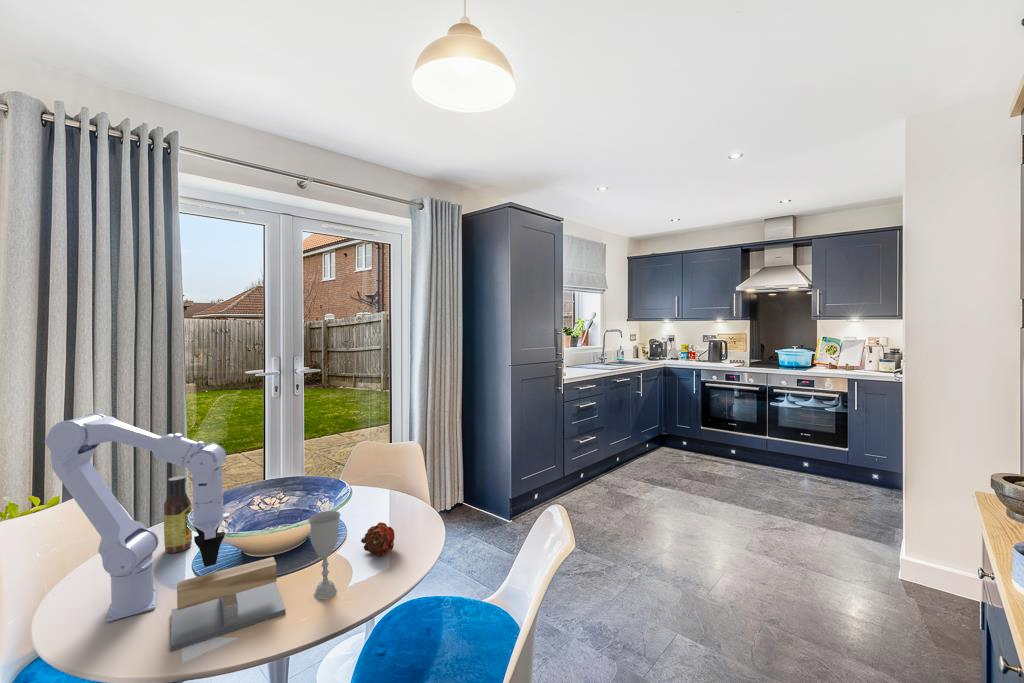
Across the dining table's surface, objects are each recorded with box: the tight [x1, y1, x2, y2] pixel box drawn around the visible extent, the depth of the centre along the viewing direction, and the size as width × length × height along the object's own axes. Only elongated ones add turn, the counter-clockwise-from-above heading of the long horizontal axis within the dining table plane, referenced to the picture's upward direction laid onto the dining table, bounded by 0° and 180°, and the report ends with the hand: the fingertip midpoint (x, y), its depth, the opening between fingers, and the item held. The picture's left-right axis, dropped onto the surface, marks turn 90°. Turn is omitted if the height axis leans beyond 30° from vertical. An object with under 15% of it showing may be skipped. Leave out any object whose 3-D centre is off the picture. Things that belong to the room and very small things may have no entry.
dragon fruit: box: [360, 522, 395, 557], centre depth 127 cm, size 8×8×12 cm
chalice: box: [307, 510, 341, 600], centre depth 107 cm, size 7×7×18 cm
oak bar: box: [176, 556, 278, 611], centre depth 99 cm, size 4×18×4 cm, turn 126°
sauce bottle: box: [163, 475, 193, 554], centre depth 128 cm, size 7×6×20 cm
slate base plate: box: [170, 582, 286, 652], centre depth 99 cm, size 14×20×1 cm
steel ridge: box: [220, 594, 238, 627], centre depth 99 cm, size 13×2×4 cm, turn 36°
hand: (209, 558), depth 105 cm, fingers open, 7 cm apart
